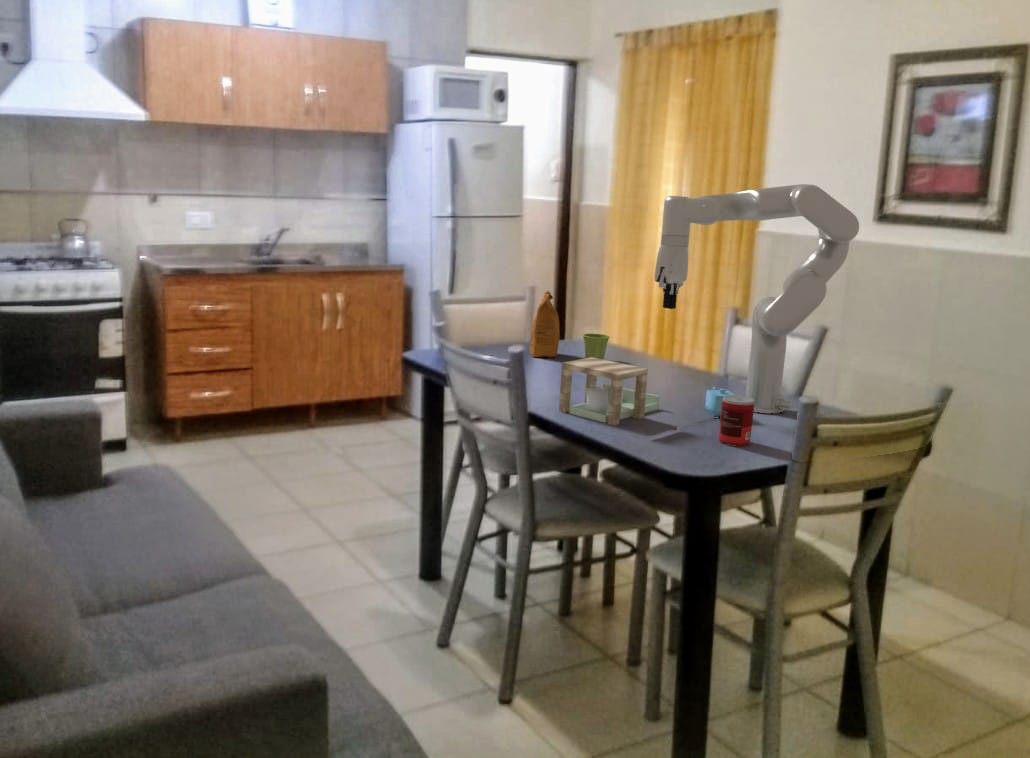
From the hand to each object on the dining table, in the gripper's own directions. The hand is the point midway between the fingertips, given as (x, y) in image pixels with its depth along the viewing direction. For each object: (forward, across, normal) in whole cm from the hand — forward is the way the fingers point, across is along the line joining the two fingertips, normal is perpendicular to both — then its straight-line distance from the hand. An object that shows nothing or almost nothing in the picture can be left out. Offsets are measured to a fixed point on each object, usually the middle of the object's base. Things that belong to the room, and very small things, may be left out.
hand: (669, 308), depth 272 cm
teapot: (+27, -1, +18) cm, 33 cm away
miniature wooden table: (+27, +28, 0) cm, 39 cm away
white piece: (+26, +24, 0) cm, 35 cm away
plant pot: (+27, -35, -50) cm, 67 cm away
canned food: (+27, +21, +35) cm, 49 cm away
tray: (+27, +23, 0) cm, 35 cm away
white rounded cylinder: (+26, +31, 0) cm, 40 cm away
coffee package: (+27, -27, -66) cm, 76 cm away
